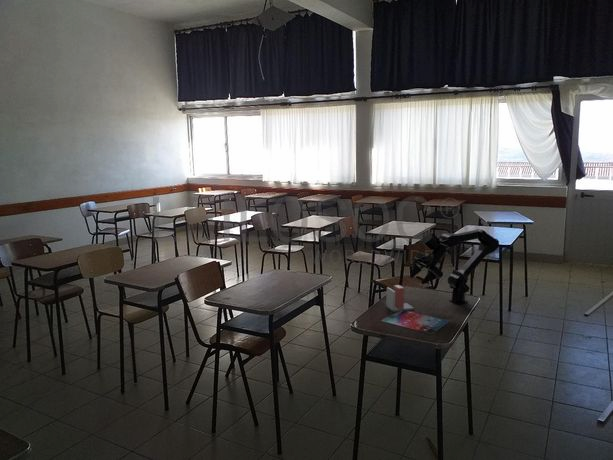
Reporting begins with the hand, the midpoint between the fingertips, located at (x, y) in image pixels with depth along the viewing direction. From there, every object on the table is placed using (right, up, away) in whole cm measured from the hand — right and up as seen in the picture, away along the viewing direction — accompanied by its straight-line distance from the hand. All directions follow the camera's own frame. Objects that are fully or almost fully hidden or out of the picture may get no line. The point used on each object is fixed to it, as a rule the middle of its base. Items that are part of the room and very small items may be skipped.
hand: (416, 280), depth 228 cm
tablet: (-4, -17, -15) cm, 23 cm away
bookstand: (-8, -13, +1) cm, 15 cm away
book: (-8, -13, +1) cm, 15 cm away
